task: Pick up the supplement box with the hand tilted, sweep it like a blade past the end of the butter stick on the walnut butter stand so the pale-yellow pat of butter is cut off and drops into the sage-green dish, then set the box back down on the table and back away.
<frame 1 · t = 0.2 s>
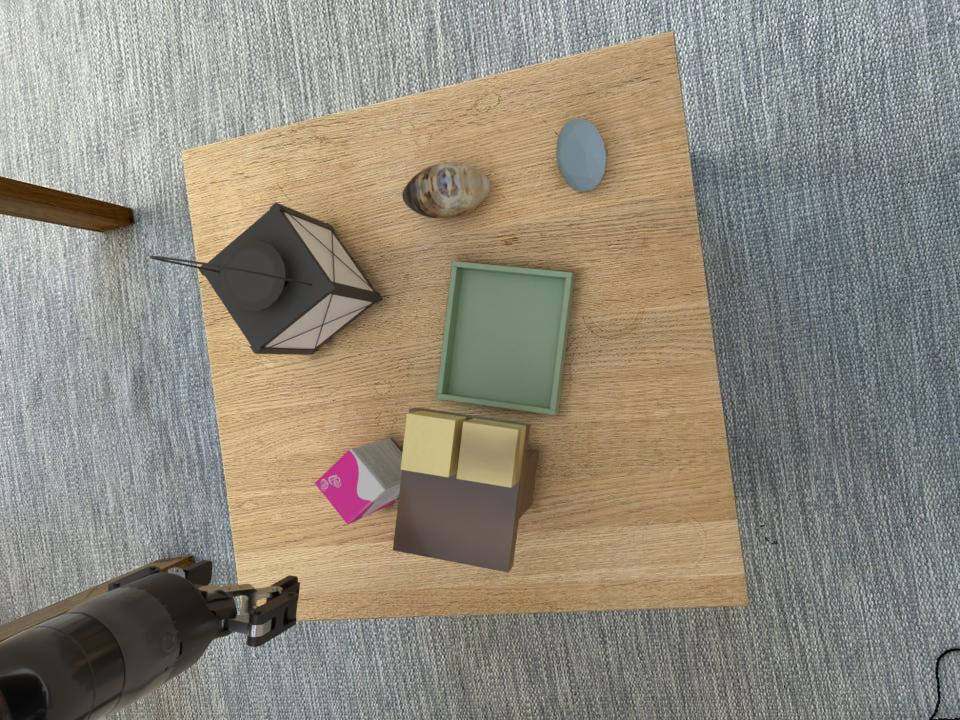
hand: (250, 578, 69), 22 cm above the table, tool pointing down, fingers open, 8 cm apart
supplement box: (390, 471, 89), on the table
seashell: (455, 198, 87), on the table
butter stand: (511, 455, 85), on the table
blue-grey stone: (583, 162, 84), on the table
lantern: (322, 290, 91), on the table
butter pat: (440, 440, 63), point 23 cm above the table, touching butter stand
butter dish: (508, 337, 86), on the table
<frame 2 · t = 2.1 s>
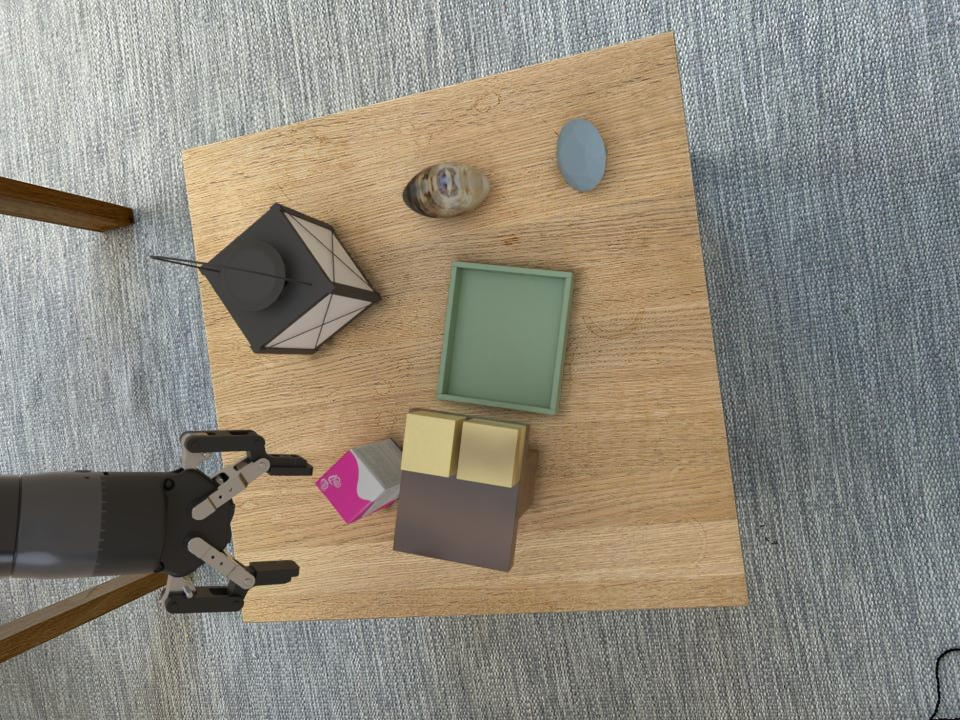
hand: (303, 518, 64), 25 cm above the table, tool tilted 45°, fingers open, 8 cm apart
nothing on the table moved.
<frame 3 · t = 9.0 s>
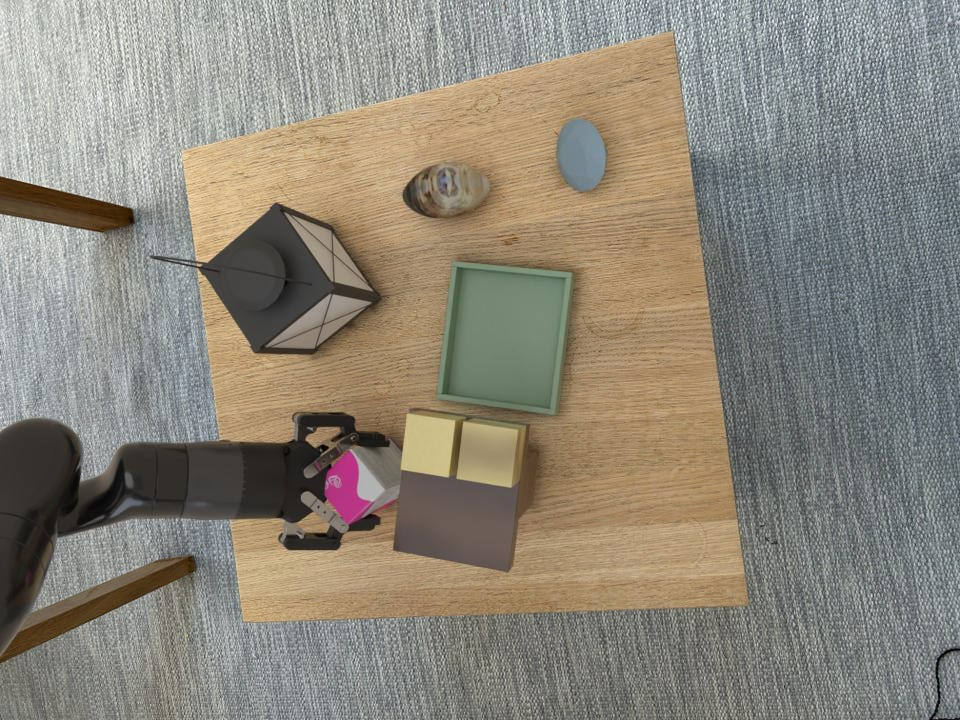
hand: (382, 480, 83), 6 cm above the table, tool tilted 45°, fingers closed on supplement box, 8 cm apart
supplement box: (390, 471, 89), on the table, touching gripper
everything else where it was.
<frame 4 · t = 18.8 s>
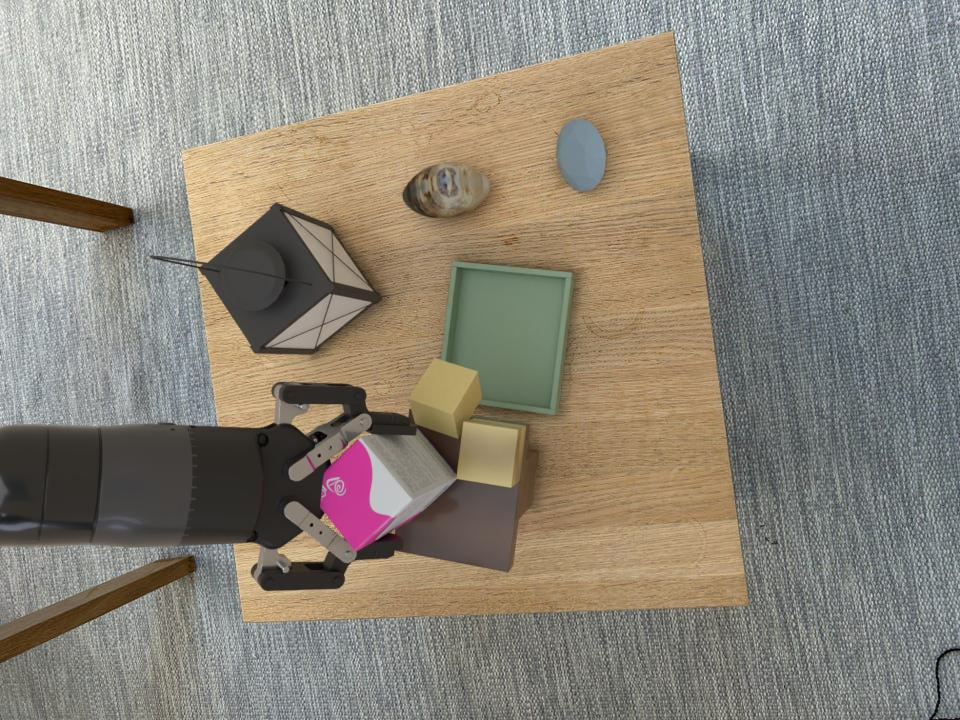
hand: (405, 484, 57), 30 cm above the table, tool tilted 45°, fingers closed on supplement box, 8 cm apart
supplement box: (413, 471, 63), point 24 cm above the table, touching gripper
butter pat: (449, 410, 63), point 23 cm above the table, tilted 40°, touching butter stand
everything else where it was.
when the fingers open (6 cm above the table, at t = 32.2 s): supplement box stays where it is, on the table.
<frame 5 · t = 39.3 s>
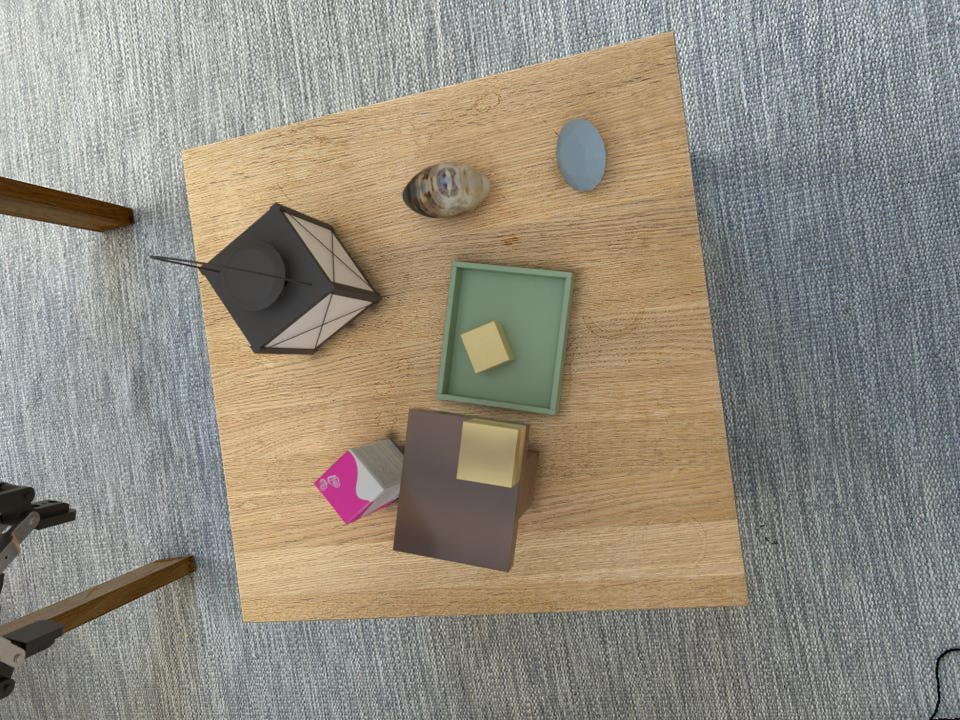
hand: (60, 569, 57), 36 cm above the table, tool pointing down, fingers open, 8 cm apart
supplement box: (389, 471, 89), on the table
butter pat: (484, 347, 82), point 4 cm above the table, tilted 180°, touching butter dish
everything else where it was.
at the end: butter pat inside the target area in the butter dish (2.1 cm from its centre), point 4.0 cm above the butter dish's base; butter pat moved 20.6 cm from its start; the gripper is holding nothing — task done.
